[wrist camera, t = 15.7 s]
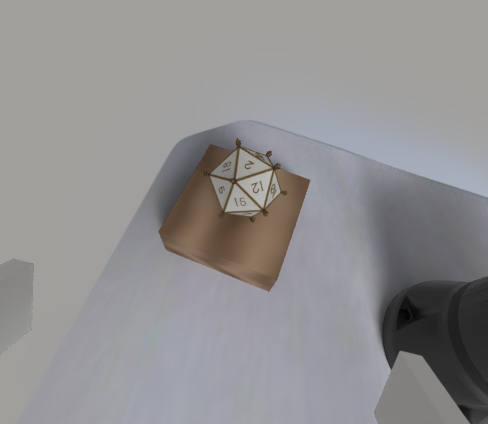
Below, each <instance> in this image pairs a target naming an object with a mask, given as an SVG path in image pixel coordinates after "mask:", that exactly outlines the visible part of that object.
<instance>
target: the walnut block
mask: <svg viewBox="0 0 488 424" xmlns="http://www.w3.org/2000/svg"><path fill="white" fill-rule="evenodd" d="M230 153H231V151H229V150H226V149H223V148H220V147H218V146H215V145H212V144H210V146H209V148H208V149H207V151H206V153H205V155H204V156H203V158H202V160H201V161H200V163H199V165H198V166H197V168H196V170H195V171H194V173H193V175H192V176H191V178H190V180H189V181H188V183H187V185H186V186H185V188H184V190H183V191H182V193H181V195H180V196H179V198H178V200H177V201H176V203H175V205H174V206H173V208H172V210H171V211H170V213H169V215H168V217H167V218H166V220H165V222H164V223H163V225H162V227H161V228H160V230H159V233H160V236H161V239H162V241H163V244H164V246H165V249H166V250H168V251H170V252H173V253H175V254H178V255H180V256H183V257H185V258H187V259H190V260H192V261H195V262H197V263H200V264H202V265H205V266H207V267H209V268H212V269H214V270H217V271H219V272H222V273H224V274H227V275H229V276H232V277H234V278H236V279H239V280H241V281H244V282H246V283H249V284H251V285H254V286H256V287H258V288H261V289H263V290H266V291H268V292H269V291H270V289H271V288H272V286H273V285H274V283H275V282H276V280H277V279H278V276H279V273H280V270H281V267H282V264H283V261H284V258H285V255H286V252H287V249H288V246H289V243H290V240H291V237H292V234H293V231H294V228H295V225H296V222H297V219H298V216H299V213H300V210H301V207H302V204H303V201H304V198H305V195H306V192H307V189H308V186H309V183H310V180H309V179H306V178H303V177H301V176H298V175H295V174H292V173H290V172H287V171H284V170H281V169H278V170H276V174H277V177H278V181H279V184H280V187H281V191H286V192H287V193H288V194H287V195H282V194H280V195H279V196H278V197H277V198H276V199H275V200H274V201H273V202H272V203H271V204H270V205H269V206H268V207H267V208H266V209H265V210H266V211H267V212H268V217H267V216H264V215H263V213H262V212H261V213H259V214H257V215H255V216H254V218H255V221H254V223H253V222H252V221H250V220H251V219H250V218H251V217H248V216H240V215H232V214H224V216H223V217H222V218H220V219H218V215H219V214H220V213H221V212H222V210H221V208H220V205H219V202H218V200H217V197H216V194H215V192H214V189H213V186H212V184H211V181H210V178H209V176H203V175H202V174H201V173H200V172H203V171H206V172H208V173H210V172H211V171H212V170H213V169H214V168H215V167H216V166H218V165H219V164H220V163H221V162H222V161H223V160H224V159H225V158H226V157H227V156H228V155H229V154H230Z"/></svg>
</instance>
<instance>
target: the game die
mask: <svg viewBox="0 0 488 424" xmlns="http://www.w3.org/2000/svg"><path fill="white" fill-rule="evenodd" d="M240 142H241V141H240V140H239V139H238V138H237V140H236V145H237V148H236V149H235V150H234V151H233V152H231V153H230V154H229V155H228V156H227V157H226V158H225V159H224V160H223V161H222V162H221V163H220V164H219V165H218V166H216V167H215V168H214V169H213V170H212V171H211V172H210V173H208V172H206V171H203V172H200V173H201V174H202V175H203V176H209V178H210V181H211V184H212V186H213V189H214V192H215V194H216V197H217V200H218V202H219V205H220V208H221V210H222V212H221V213H220V214H219V215H218V219H220V218H222V217H223V216H224V214H232V215H240V216H248V217H251V218H250V219H251V220H250V221H252V222H253V223H254V221H255V218H254V216H255V215H257V214H259V213H261V212H262V213H263V215H264V216H267V217H268V212H267V211H266V210H265V209H266V208H267V207H268V206H269V205H270V204H271V203H272V202H273V201H274V200H275V199H276V198H277V197H278V196H279V195H280V194H282V195H287V194H288V193H287V192H286V191H281V187H280V184H279V181H278V177H277V174H276V170H278V169H280V166H281V164H278V163H277V164H276V165H275V166H273V164H272V163H271V161H270V159H269V158H268V157H270V156H271V153H272V151H269V152H267V153H266V155H263V154H260V153H258V152H255V151H252V150H249V149H246V148H243V147H241V146H240V145H241V143H240Z"/></svg>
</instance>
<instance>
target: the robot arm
mask: <svg viewBox="0 0 488 424" xmlns="http://www.w3.org/2000/svg"><path fill="white" fill-rule="evenodd" d="M33 271H34V264H33V263H28V262H24V261H20V260H16V259H12V260H10V261H7V262H5V263H3V264H1V265H0V355H1V354H2V353H3V352H4V351H6V350H7V349H8V348H9V347H10V346H12V345H13V344H14V343H15V342H17V341H18V340H19V339H20V338H22V337H23V336H24V335H25V334H27V333H28V332H29V331H30V330H31V329H32V302H33ZM383 341H384V348H385V352H386V356H387V359H388V362H389V364H390V367H391V369H392V370H391V373H390V375H389V378H388V380H387V382H386V385H385V387H384V390H383V392H382V394H381V397H380V399H379V402H378V404H377V406H376V409H375V411H374V414H375V417H376V419H377V422H378V424H488V276H487V277H484V278H481V279H478V280H475V281H473V282H456V281H428V282H423V283H420V284H417V285H415V286H412V287H410V288H408V289H406V290H404V291H402V292H401V293H399V294H398V295H397V296H396V297H395V298H394V299H393V301H392V302H391V304H390V305H389V307H388V309H387V312H386V315H385V318H384V324H383Z"/></svg>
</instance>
